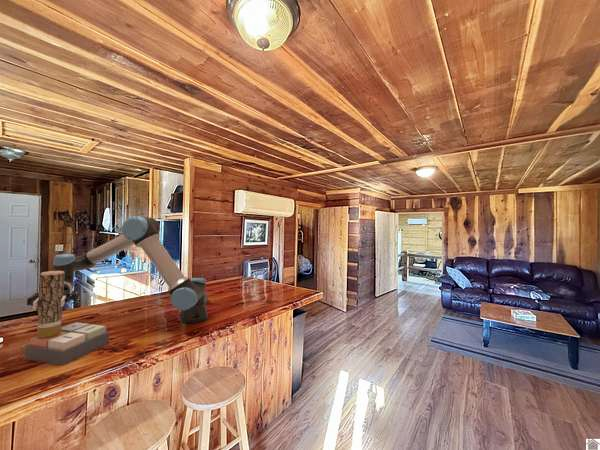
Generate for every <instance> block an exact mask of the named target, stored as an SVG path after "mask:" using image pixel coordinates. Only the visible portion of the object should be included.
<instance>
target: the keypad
mask: <svg viewBox="0 0 600 450" xmlns="http://www.w3.org/2000/svg"><path fill="white" fill-rule="evenodd" d="M108 344H110V331H107V330H106V333H104V334H102V335H100V336H97V337H95V338H92V339H90V340H85V342H83V343H81V344H78V345H76V346H74V347H71V348H69V349H67V350H64V351H62V350H56V349H49V348H48V347H46V348H43V347H37V346H30V343H29V344H26V345H25V349H24V359H25V360H29V361H35V362H42V363H48V364H53V365H59V366H64V365H66V364H69V363H70V362H72V361H74V360H77V359H79V358H81V357H83V356H85V355H88V354H89V353H93V352H94V351H96V350H97V349H101V348H103V347H104V346H106V345H108Z"/></svg>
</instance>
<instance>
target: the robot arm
mask: <svg viewBox="0 0 600 450" xmlns="http://www.w3.org/2000/svg"><path fill="white" fill-rule="evenodd" d="M160 230H161V225H160V223H159V222H158V220H156V219H155V218H153V217H149V216H147V217H146V216H140V215H135V216H130V217H129V218H126V219H125V221H123V223H122V226H121V233H122V235H119V236H117V237H115V238H114V239H111V240H110V241H107V242H105V243H104V244H102V245H99V246H97V247H95V248H94V249H91V250H90V251H88V252H86V253H83V254H82V255H79V256H75V254H72V253H62V254H56V255H54V257H53V262H52V265H53V266H52V271H65V275H64V292H63V297H62V299H61V306H63V307H64V306H65V304H66V303H69V302H70V301H73V302H74V301H76V300H77V296H78V292H79V291H78V289H74V287H75V280H74V279H75V272H78V271H84V270H90V269H91V268H95V266H96V265H97V264H98V263H100V262H103V261H104V260H106V259H109V258H110V257H113V256H115V255H117V254H119V253H120V252H123V251H124V250H126V249H129V248H131V247H132V246H135V247H136V248H141V249H142V250H143V252H144V254H145V255H146V257H147V258H148V259H149V261H150V262H151V263H152V265H153V267H154V268H155V269H156V271H157V272H158V274H159V275H160V277H161V279H162V280H163V281H164V282H165V283H166V285H167V287H168V288H167V293H168V294H169V295H170V304H171V306H172V307H173V308H174V309H176V310H178V311H179V316H178V321H179V322H180V323H183V324H194V323H200V322H204V321H205V320H207V319H208V317H209V315H208V314H209V313H208V309H207V307H206V303H205V292H206V289H207V288H206V286H207V281H206V278H203V277H186V276H185V275H184V274H183V273H182V271H181V269H180V267H178V264H176V262H175V261H174V260H173V259H174V258H172V257H171V255H170V254H169V252H168V251H167V249H166V247H165V246H164V244H162V242H161V240H160V239H159V238H160ZM73 289H74V290H73ZM26 306H31V307H32V310H33V311H35V310H37V309H38V307H39V292H35V293H34V294H33V295H31V296H30V297H27V298H26ZM61 306H60V307H61Z"/></svg>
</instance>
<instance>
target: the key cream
mask: <svg viewBox="0 0 600 450" xmlns="http://www.w3.org/2000/svg"><path fill="white" fill-rule="evenodd" d="M83 342H85V334H79V333H72V332H70V333H67V334H64V335H62V336H59V337H56V338H53V339H51V340H48V348H49V349H56V350H62V351H64V350H67V349H69V348H71V347H74V346H76V345H78V344H81V343H83Z"/></svg>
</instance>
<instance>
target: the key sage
mask: <svg viewBox="0 0 600 450" xmlns="http://www.w3.org/2000/svg"><path fill="white" fill-rule="evenodd" d="M106 331H107V325H101V324H92V323H91V324H90V325H89V326H86V327H83V328H81V329H78V330H75V331H74V333H79V334H85V340H90V339H92V338H95V337H97V336H100V335H102V334H104V333H106Z"/></svg>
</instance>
